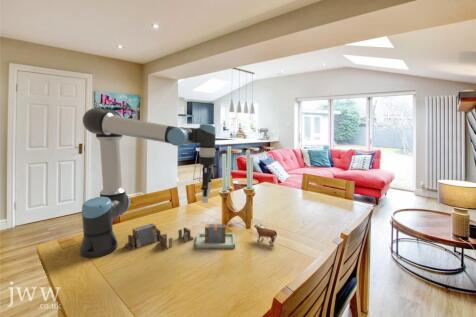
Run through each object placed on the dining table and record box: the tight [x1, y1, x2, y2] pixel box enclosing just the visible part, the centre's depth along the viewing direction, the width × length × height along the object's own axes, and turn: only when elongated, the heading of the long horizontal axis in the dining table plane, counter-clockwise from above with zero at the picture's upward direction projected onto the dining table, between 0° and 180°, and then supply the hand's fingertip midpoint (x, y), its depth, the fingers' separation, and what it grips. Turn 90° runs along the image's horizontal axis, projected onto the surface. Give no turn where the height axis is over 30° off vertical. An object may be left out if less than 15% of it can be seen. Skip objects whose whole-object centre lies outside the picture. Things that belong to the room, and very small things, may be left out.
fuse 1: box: [132, 222, 157, 248], centre depth 122 cm, size 10×4×8 cm, turn 133°
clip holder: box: [156, 227, 194, 251], centre depth 123 cm, size 16×6×5 cm, turn 133°
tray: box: [194, 232, 236, 250], centre depth 124 cm, size 19×13×2 cm
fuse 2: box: [204, 223, 227, 243], centre depth 124 cm, size 10×4×8 cm, turn 93°
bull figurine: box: [253, 222, 278, 246], centre depth 125 cm, size 4×13×8 cm, turn 51°
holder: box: [124, 227, 161, 251], centre depth 122 cm, size 16×6×5 cm, turn 133°
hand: (206, 198), depth 124 cm, fingers open, 13 cm apart
